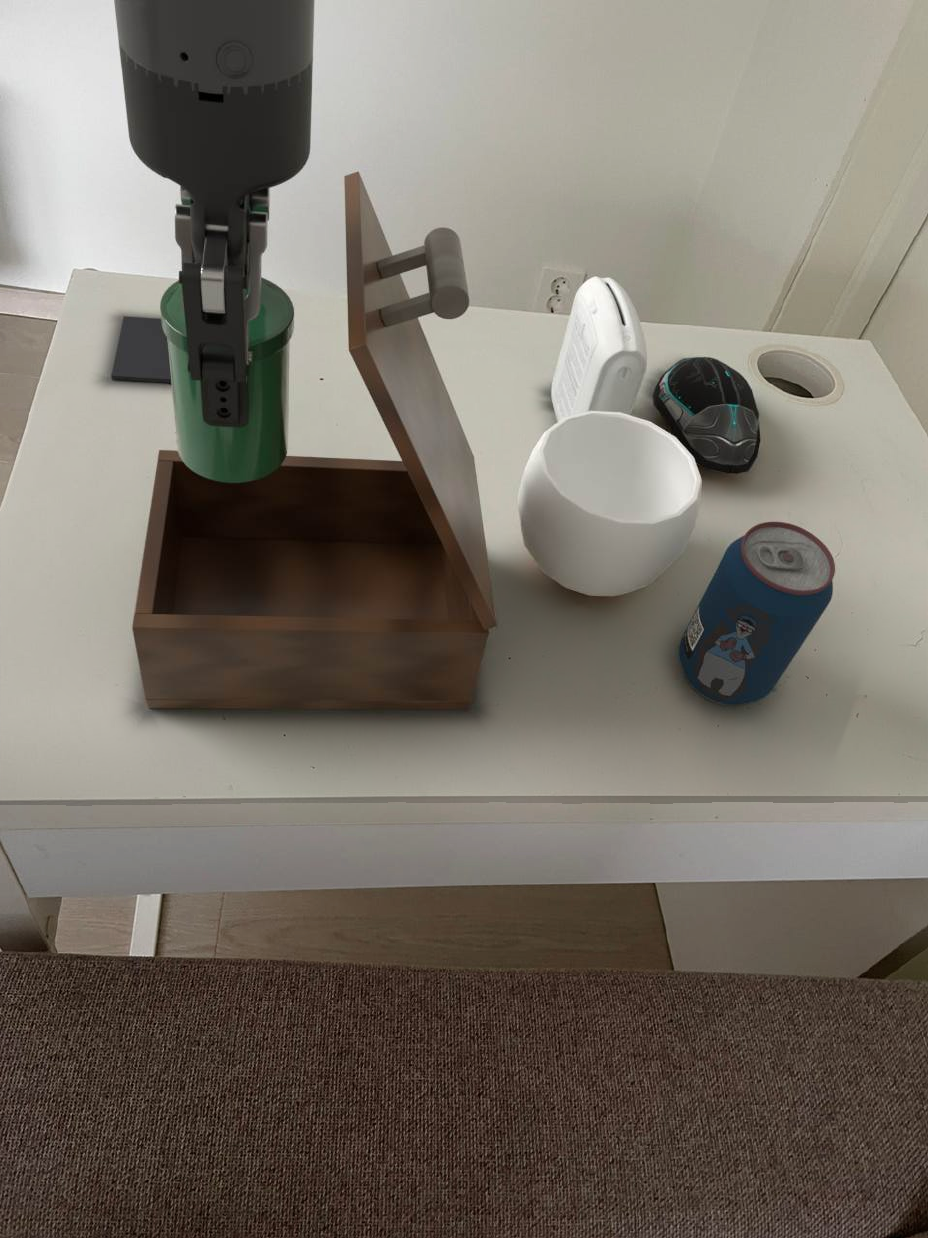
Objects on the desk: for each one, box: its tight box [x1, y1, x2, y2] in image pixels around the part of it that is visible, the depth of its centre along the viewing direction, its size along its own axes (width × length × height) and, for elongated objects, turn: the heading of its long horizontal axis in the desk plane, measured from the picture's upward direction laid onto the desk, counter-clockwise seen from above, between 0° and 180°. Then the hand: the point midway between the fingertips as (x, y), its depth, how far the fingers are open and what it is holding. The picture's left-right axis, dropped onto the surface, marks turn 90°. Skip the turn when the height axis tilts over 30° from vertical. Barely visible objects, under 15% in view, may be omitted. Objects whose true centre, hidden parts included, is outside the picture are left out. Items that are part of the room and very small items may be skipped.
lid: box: [343, 171, 498, 630], centre depth 54 cm, size 21×14×5 cm
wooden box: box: [131, 449, 490, 711], centre depth 64 cm, size 20×14×8 cm
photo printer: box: [550, 275, 648, 423], centre depth 79 cm, size 10×4×12 cm, turn 8°
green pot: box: [159, 273, 295, 483], centre depth 52 cm, size 6×6×9 cm
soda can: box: [678, 521, 836, 706], centre depth 65 cm, size 7×7×12 cm
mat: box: [111, 315, 171, 384], centre depth 82 cm, size 8×8×1 cm
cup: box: [516, 411, 703, 597], centre depth 70 cm, size 12×12×10 cm
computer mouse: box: [652, 356, 762, 475], centre depth 84 cm, size 9×17×6 cm, turn 2°
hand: (230, 377), depth 52 cm, fingers closed on green pot, 6 cm apart
